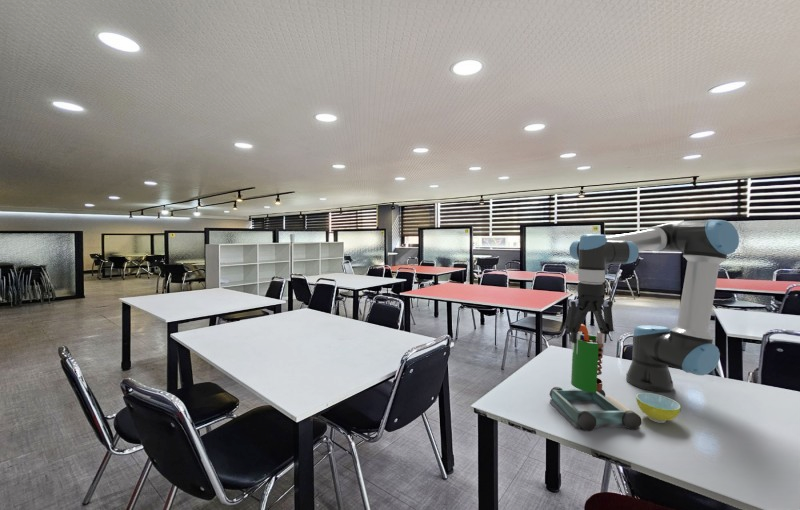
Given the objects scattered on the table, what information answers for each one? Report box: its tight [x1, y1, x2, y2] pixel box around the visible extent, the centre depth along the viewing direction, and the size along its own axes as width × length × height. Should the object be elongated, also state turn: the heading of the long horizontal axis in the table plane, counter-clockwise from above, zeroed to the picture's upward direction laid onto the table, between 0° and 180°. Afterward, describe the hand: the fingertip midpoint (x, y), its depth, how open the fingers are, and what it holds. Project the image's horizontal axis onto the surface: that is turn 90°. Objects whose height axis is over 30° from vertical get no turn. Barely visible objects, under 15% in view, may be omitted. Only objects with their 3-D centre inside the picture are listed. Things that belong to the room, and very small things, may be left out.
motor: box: [570, 323, 604, 393], centre depth 113 cm, size 10×9×20 cm
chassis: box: [549, 386, 642, 432], centre depth 114 cm, size 20×19×5 cm
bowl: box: [635, 392, 681, 424], centre depth 111 cm, size 11×12×6 cm
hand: (587, 352), depth 113 cm, fingers closed on motor, 7 cm apart
